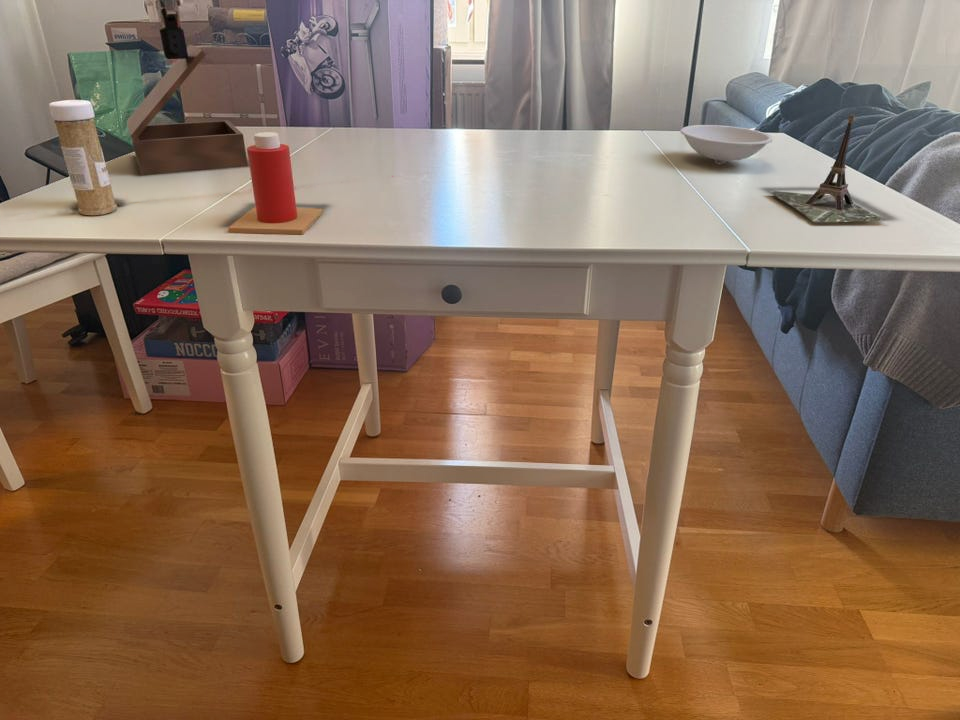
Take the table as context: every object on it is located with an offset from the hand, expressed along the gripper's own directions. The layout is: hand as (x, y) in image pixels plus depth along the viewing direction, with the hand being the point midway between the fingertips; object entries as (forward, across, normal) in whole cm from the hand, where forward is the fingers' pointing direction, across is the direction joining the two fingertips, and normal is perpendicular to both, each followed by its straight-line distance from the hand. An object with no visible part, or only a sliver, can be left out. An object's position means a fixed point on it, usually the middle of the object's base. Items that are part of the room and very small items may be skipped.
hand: (176, 58), depth 103 cm
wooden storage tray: (+16, 0, -1) cm, 16 cm away
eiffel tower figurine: (+17, +62, +74) cm, 98 cm away
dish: (+17, +34, +82) cm, 90 cm away
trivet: (+16, +37, +5) cm, 41 cm away
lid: (+5, 0, -2) cm, 5 cm away
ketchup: (+16, +37, +5) cm, 41 cm away
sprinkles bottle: (+16, +22, -15) cm, 32 cm away
